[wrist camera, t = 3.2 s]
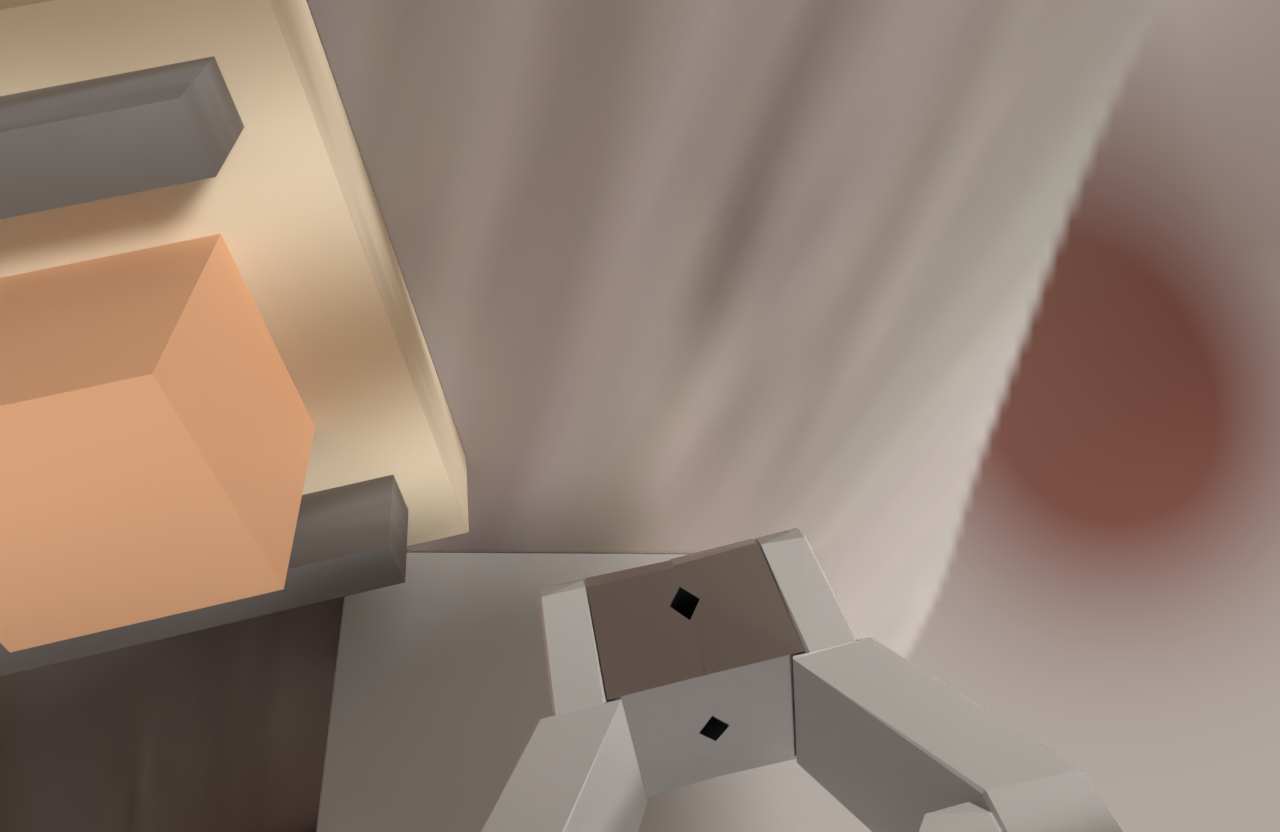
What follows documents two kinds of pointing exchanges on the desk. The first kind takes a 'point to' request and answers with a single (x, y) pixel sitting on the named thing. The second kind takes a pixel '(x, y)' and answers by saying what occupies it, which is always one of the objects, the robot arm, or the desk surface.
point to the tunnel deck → (237, 254)
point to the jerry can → (493, 707)
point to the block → (141, 443)
